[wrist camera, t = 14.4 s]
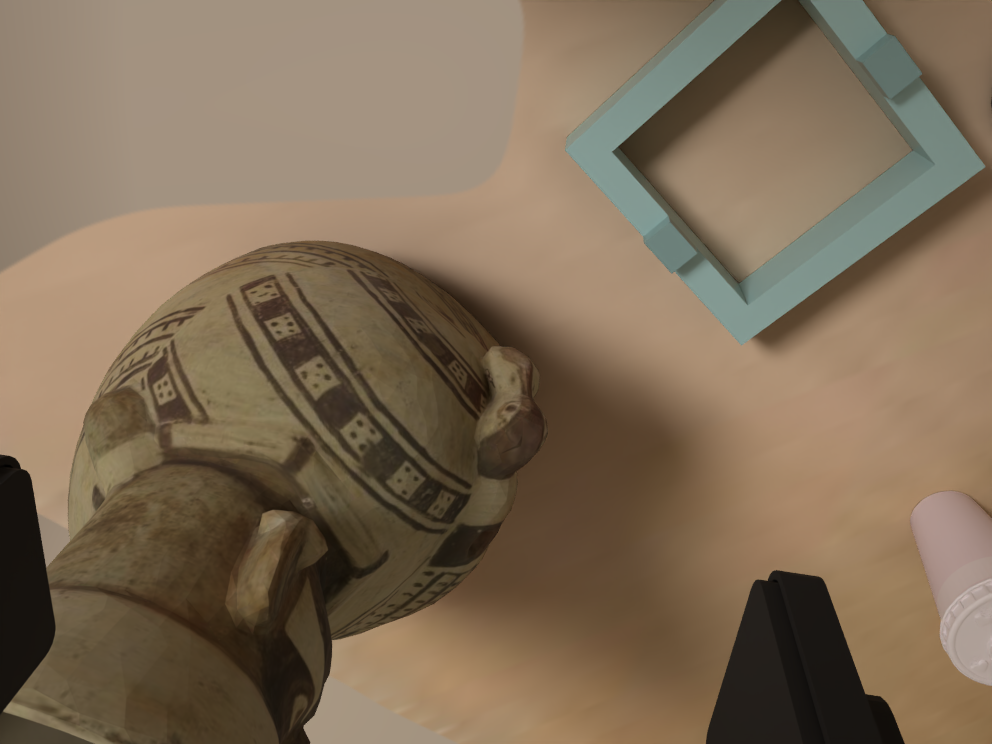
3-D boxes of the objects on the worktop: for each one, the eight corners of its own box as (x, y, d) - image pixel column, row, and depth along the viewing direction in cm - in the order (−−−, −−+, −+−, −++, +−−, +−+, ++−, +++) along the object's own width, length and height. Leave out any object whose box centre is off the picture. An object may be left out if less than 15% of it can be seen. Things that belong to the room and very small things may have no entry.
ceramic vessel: (605, 466, 50) (618, 1065, 23) (278, 528, 54) (-28, 1090, 28) (517, 145, 42) (383, 486, 16) (145, 247, 47) (-456, 648, 20)
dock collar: (566, 137, 42) (564, 154, 38) (792, -72, 37) (813, -75, 33) (732, 321, 45) (744, 354, 42) (959, 152, 40) (995, 172, 37)
